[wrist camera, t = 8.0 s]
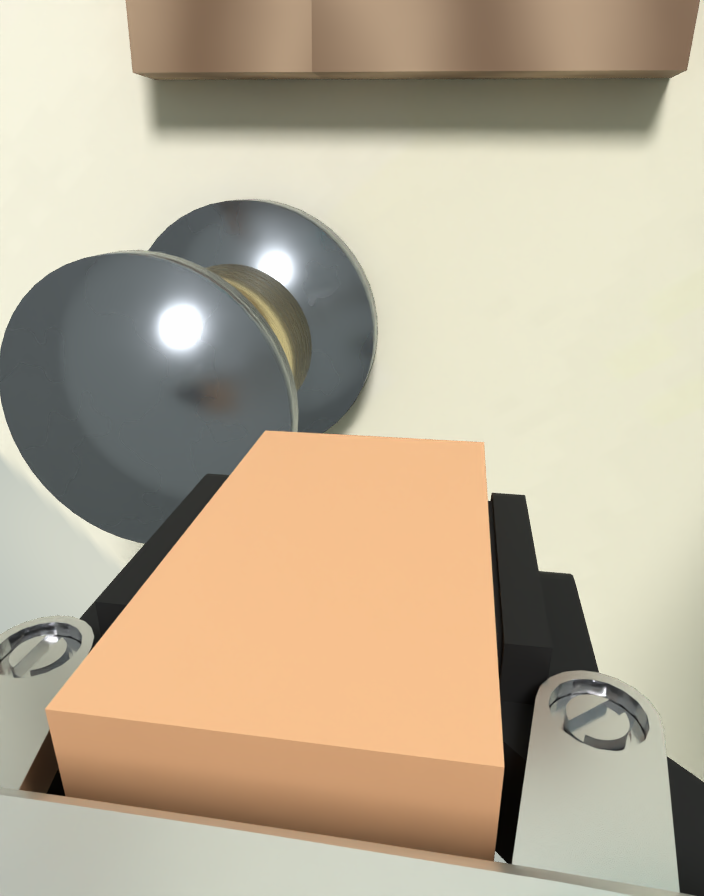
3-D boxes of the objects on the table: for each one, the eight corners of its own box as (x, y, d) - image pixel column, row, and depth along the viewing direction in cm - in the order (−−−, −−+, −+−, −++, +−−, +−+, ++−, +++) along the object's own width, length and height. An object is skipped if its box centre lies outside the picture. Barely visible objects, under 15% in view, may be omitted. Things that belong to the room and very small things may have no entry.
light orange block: (483, 442, 12) (504, 766, 5) (469, 627, 13) (472, 1052, 7) (265, 430, 12) (43, 708, 6) (276, 608, 14) (109, 984, 7)
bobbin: (381, 202, 27) (324, 220, 16) (374, 446, 32) (324, 589, 21) (133, 196, 29) (-71, 208, 18) (157, 429, 33) (5, 554, 22)
